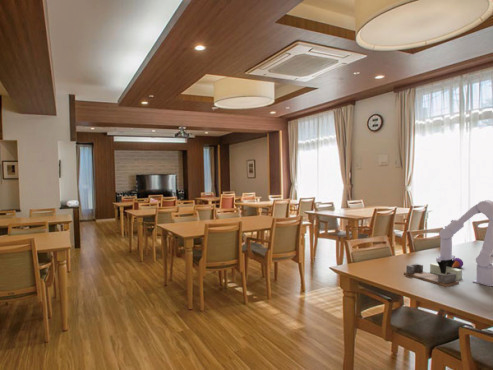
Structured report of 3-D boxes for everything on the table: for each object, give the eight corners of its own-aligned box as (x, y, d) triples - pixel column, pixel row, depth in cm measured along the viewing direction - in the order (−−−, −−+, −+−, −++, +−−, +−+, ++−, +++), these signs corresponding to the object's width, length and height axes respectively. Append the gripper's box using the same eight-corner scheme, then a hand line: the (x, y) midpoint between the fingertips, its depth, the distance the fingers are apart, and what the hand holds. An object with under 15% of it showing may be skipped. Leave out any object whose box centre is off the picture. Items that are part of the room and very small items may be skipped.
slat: (461, 278, 186) (462, 269, 186) (457, 279, 184) (457, 270, 184) (434, 271, 200) (434, 263, 200) (430, 272, 199) (430, 264, 198)
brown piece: (440, 264, 201) (453, 256, 214) (442, 274, 201) (455, 266, 214) (451, 264, 197) (463, 256, 209) (453, 274, 196) (465, 266, 209)
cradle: (458, 283, 177) (459, 274, 177) (446, 286, 172) (446, 276, 172) (416, 271, 200) (416, 262, 199) (403, 274, 195) (403, 265, 194)
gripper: (446, 246, 199) (446, 269, 199) (431, 249, 192) (430, 272, 193) (458, 249, 193) (458, 272, 193) (443, 251, 186) (442, 275, 186)
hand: (445, 272), depth 192 cm, fingers closed on slat, 4 cm apart
